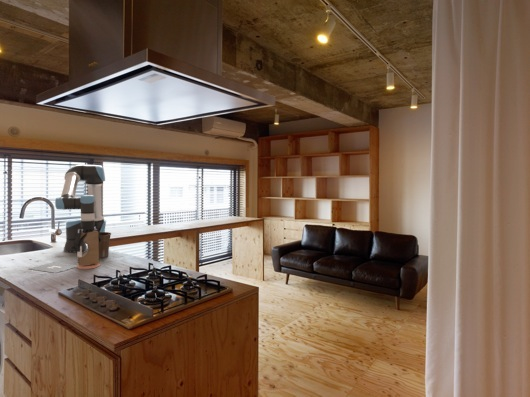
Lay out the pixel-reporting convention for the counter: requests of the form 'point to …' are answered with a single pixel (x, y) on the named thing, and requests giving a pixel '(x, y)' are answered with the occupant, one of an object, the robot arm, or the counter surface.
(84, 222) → the robot arm
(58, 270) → the tile
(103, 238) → the plant pot
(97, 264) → the coaster
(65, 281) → the counter surface
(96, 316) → the counter surface
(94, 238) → the decorative block
